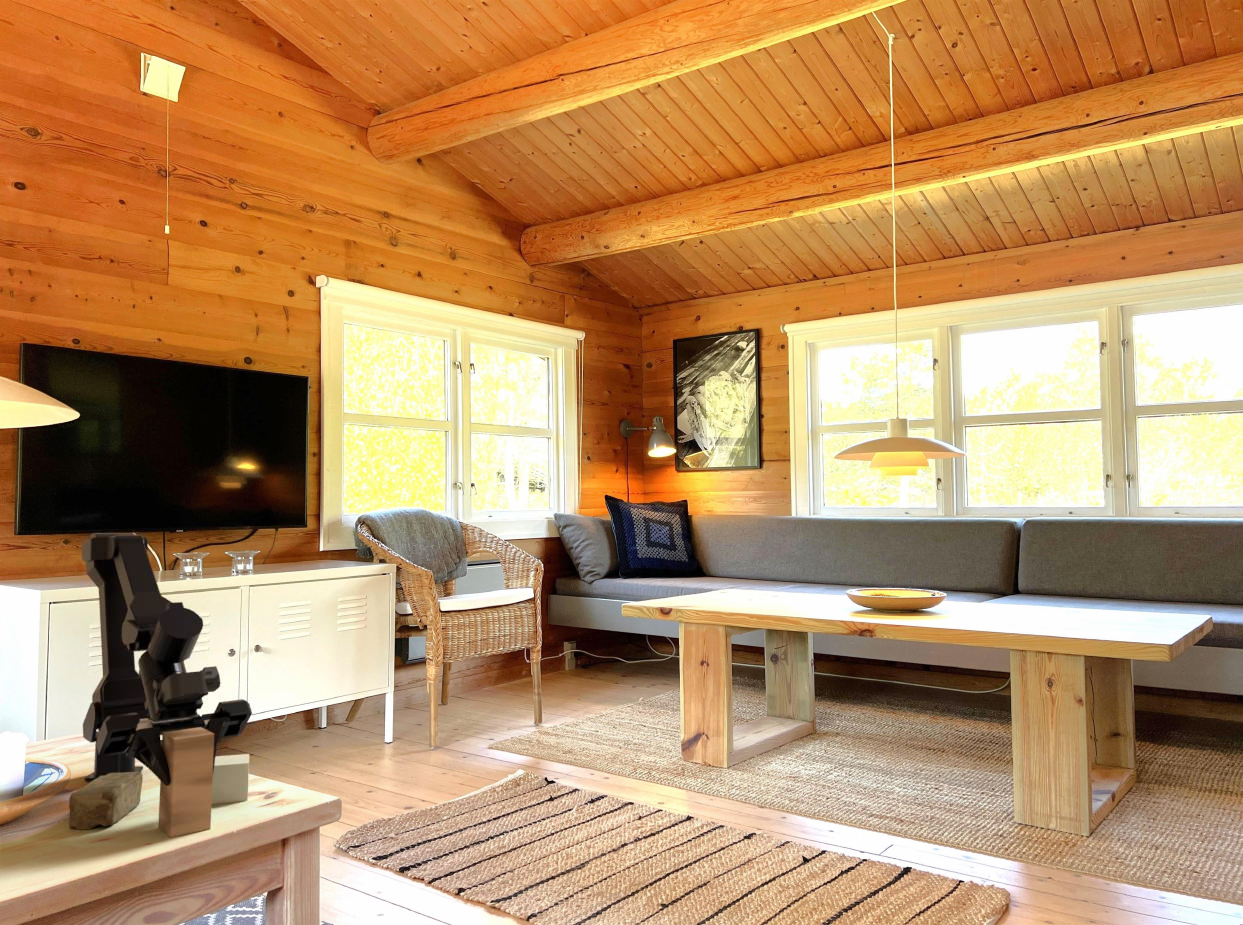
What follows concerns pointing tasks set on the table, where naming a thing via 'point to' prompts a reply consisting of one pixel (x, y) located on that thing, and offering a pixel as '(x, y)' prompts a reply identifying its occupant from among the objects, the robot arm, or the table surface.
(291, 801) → the table surface
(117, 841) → the table surface
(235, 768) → the sage cube
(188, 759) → the oak pillar
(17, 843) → the table surface
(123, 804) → the stone block
